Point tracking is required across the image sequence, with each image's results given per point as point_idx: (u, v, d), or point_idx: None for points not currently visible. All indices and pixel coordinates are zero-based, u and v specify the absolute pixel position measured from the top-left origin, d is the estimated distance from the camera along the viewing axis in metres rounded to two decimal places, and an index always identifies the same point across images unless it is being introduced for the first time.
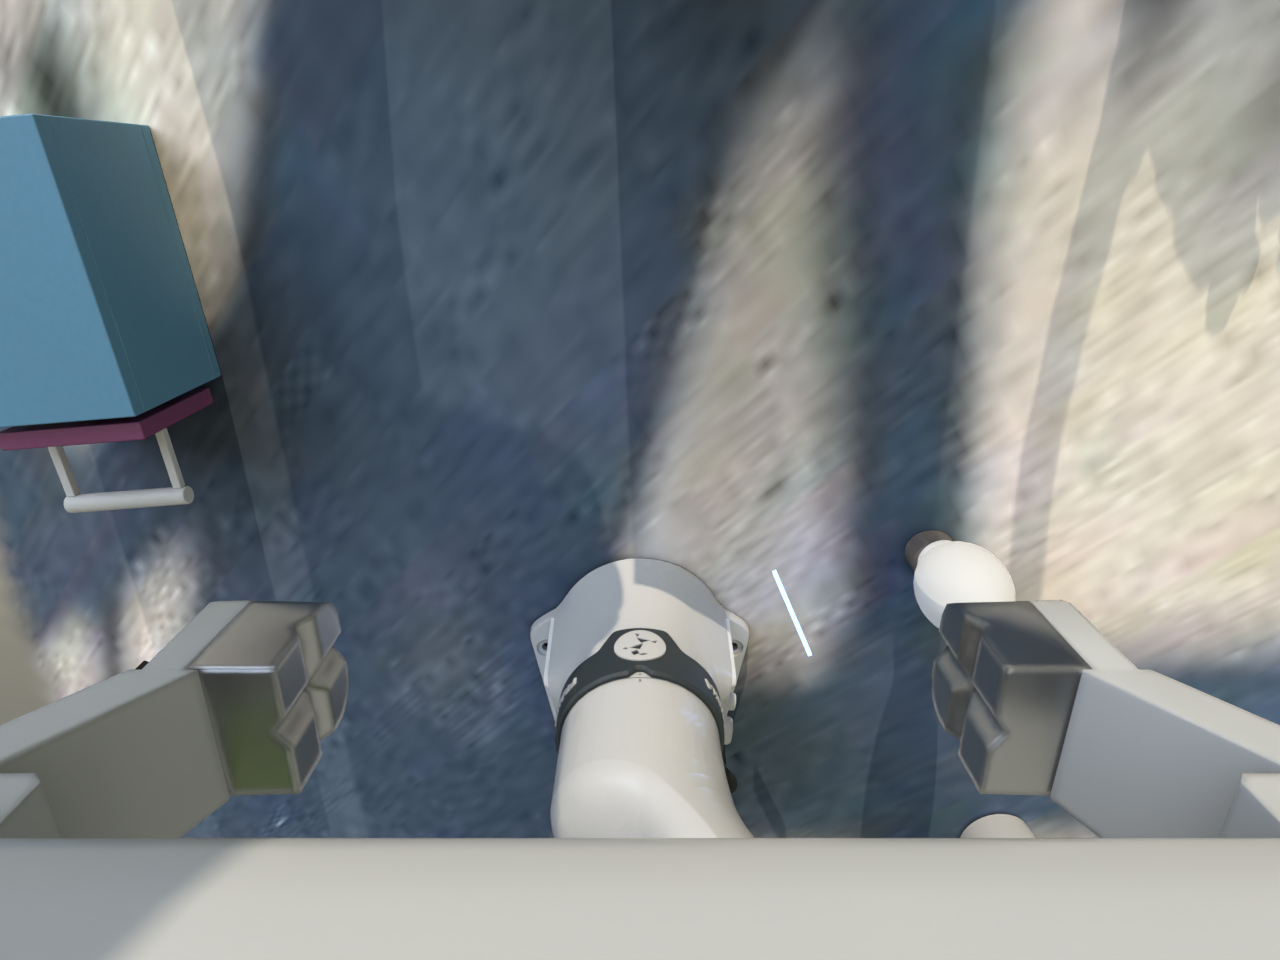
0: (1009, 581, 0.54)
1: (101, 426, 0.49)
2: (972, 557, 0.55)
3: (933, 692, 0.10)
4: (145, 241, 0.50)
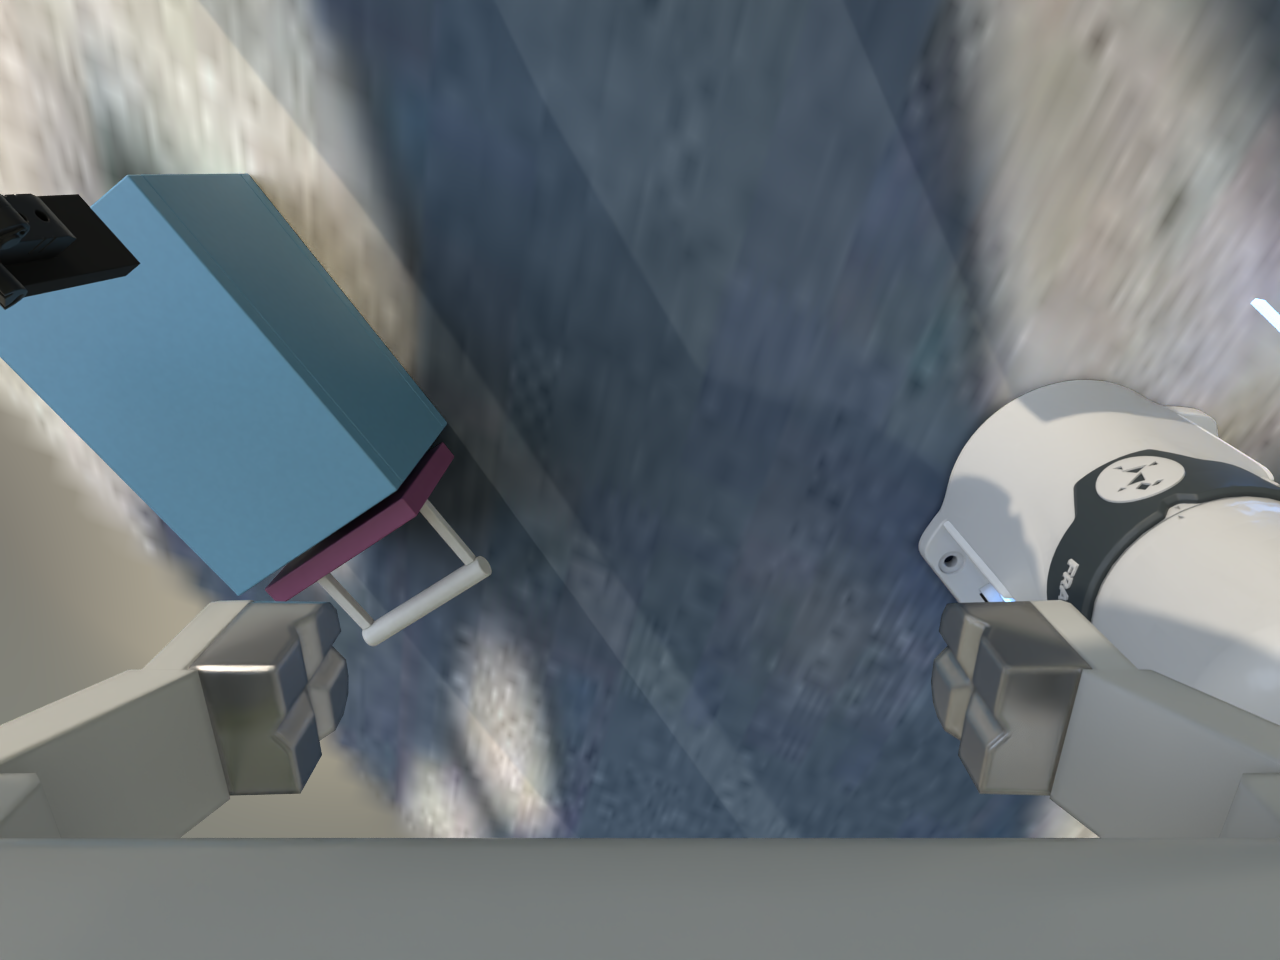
0: None
1: (365, 524, 0.39)
2: None
3: (933, 692, 0.10)
4: (307, 295, 0.40)
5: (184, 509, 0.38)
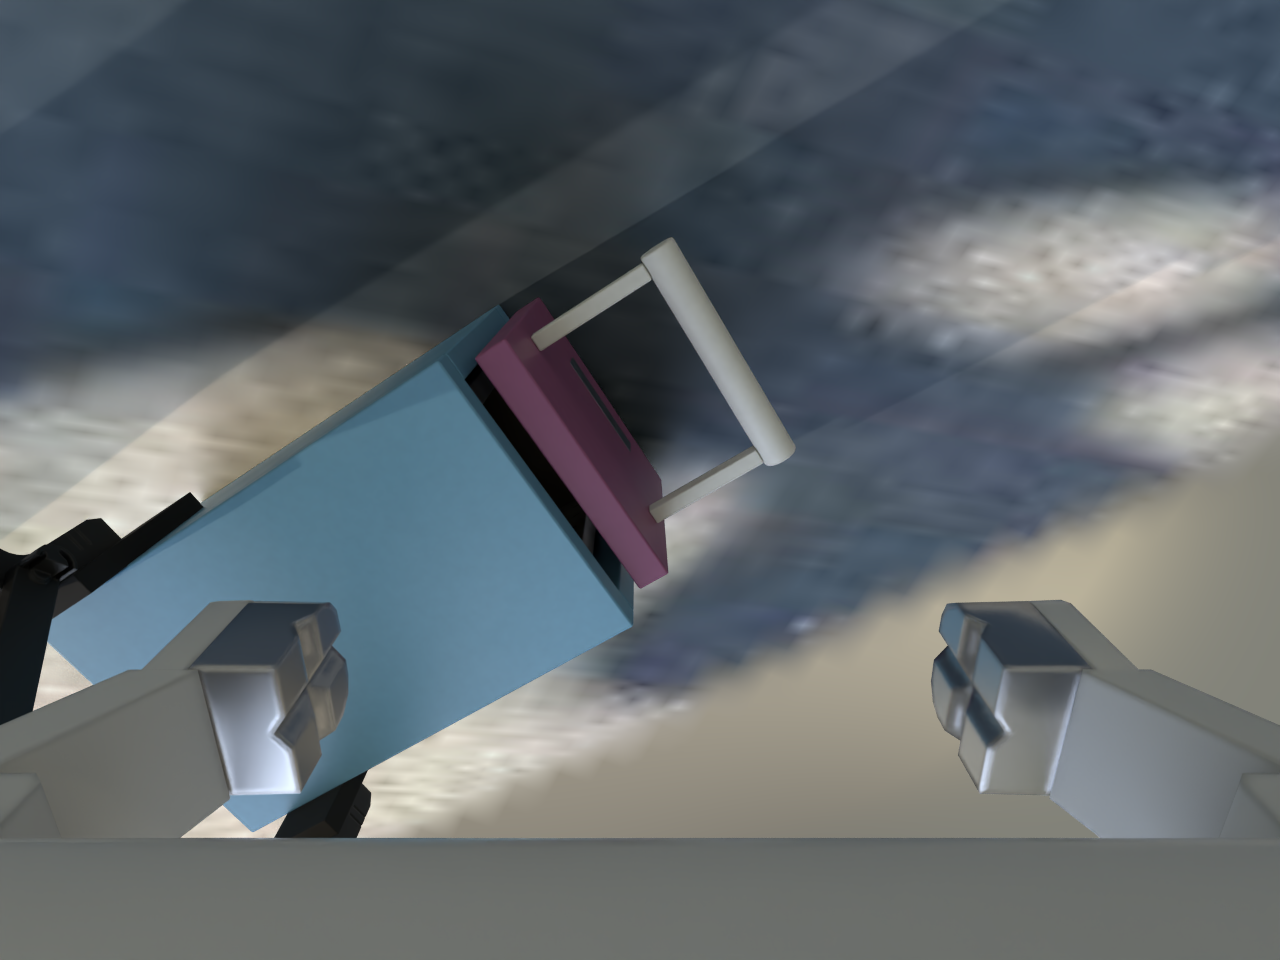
0: None
1: (523, 423, 0.24)
2: None
3: (933, 692, 0.10)
4: (275, 457, 0.30)
5: (489, 664, 0.26)
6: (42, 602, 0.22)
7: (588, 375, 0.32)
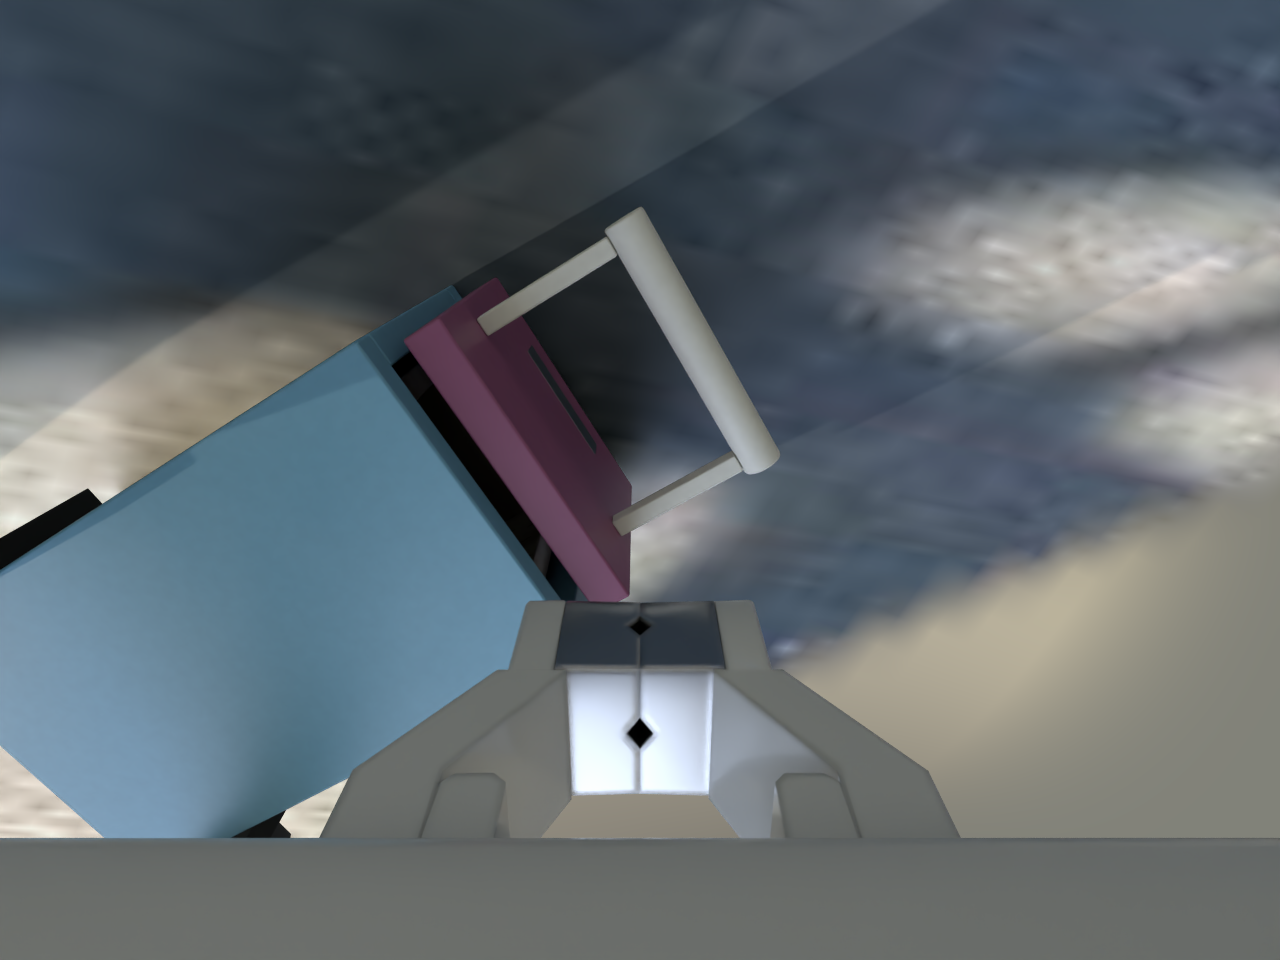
0: None
1: (460, 418, 0.21)
2: None
3: None
4: None
5: (420, 696, 0.23)
6: None
7: (550, 366, 0.28)
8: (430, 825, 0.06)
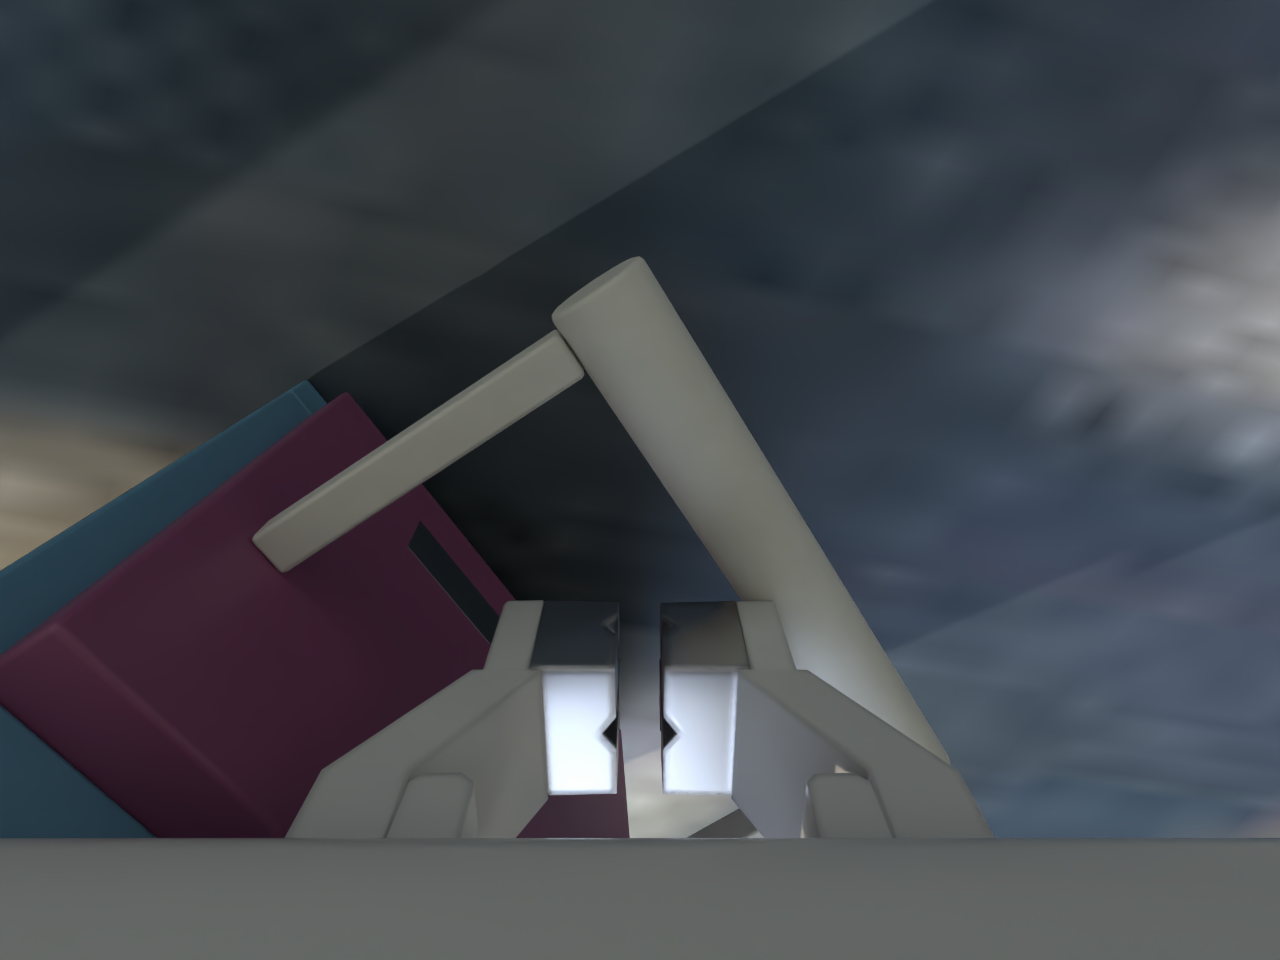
0: None
1: None
2: None
3: None
4: None
5: None
6: None
7: (461, 551, 0.15)
8: (396, 825, 0.06)
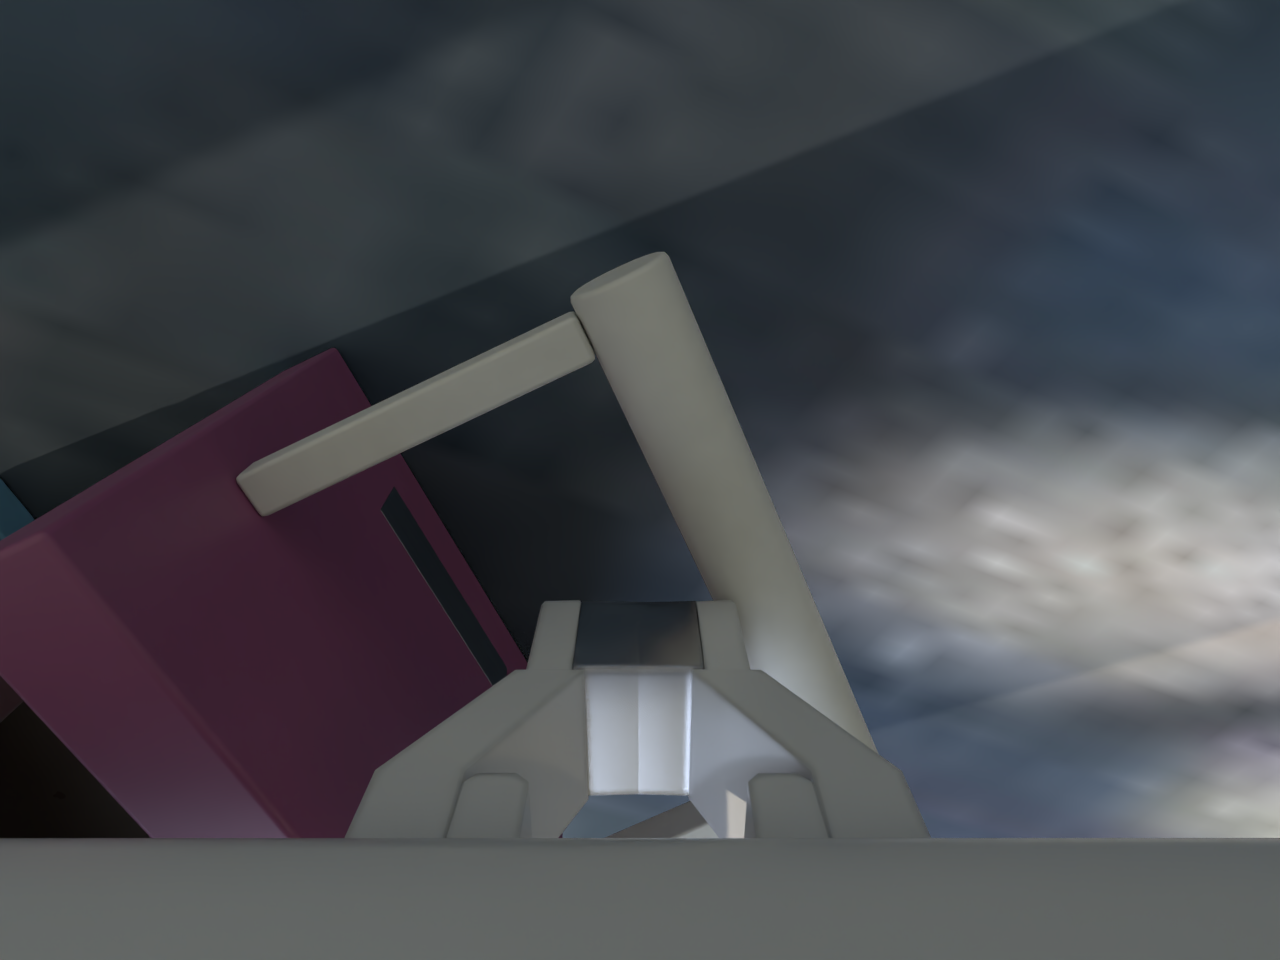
0: None
1: (121, 799, 0.07)
2: None
3: None
4: None
5: None
6: None
7: (430, 522, 0.15)
8: (455, 825, 0.06)
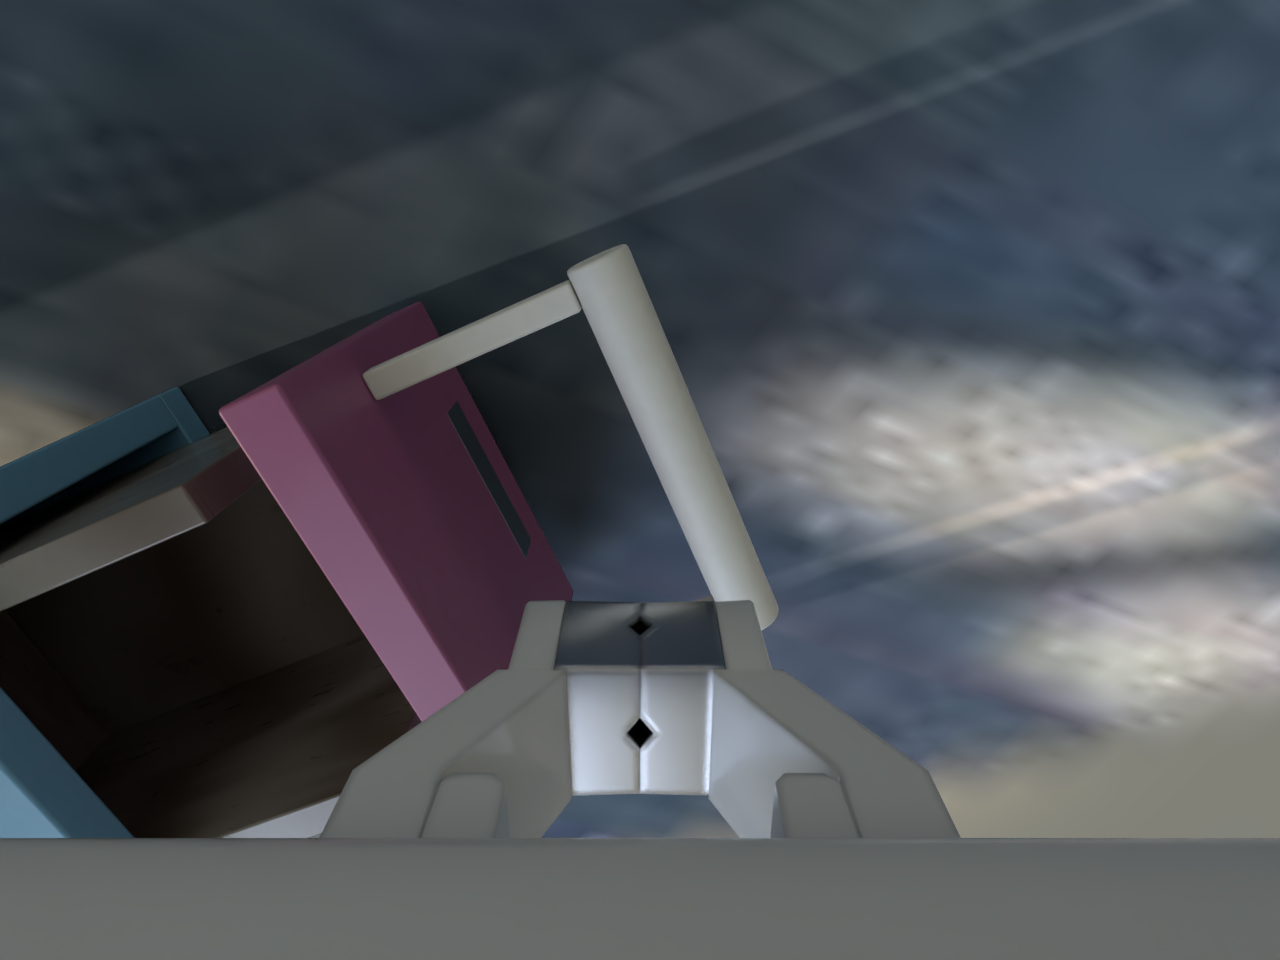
0: None
1: (304, 537, 0.13)
2: None
3: None
4: None
5: None
6: None
7: (481, 430, 0.21)
8: (430, 825, 0.06)
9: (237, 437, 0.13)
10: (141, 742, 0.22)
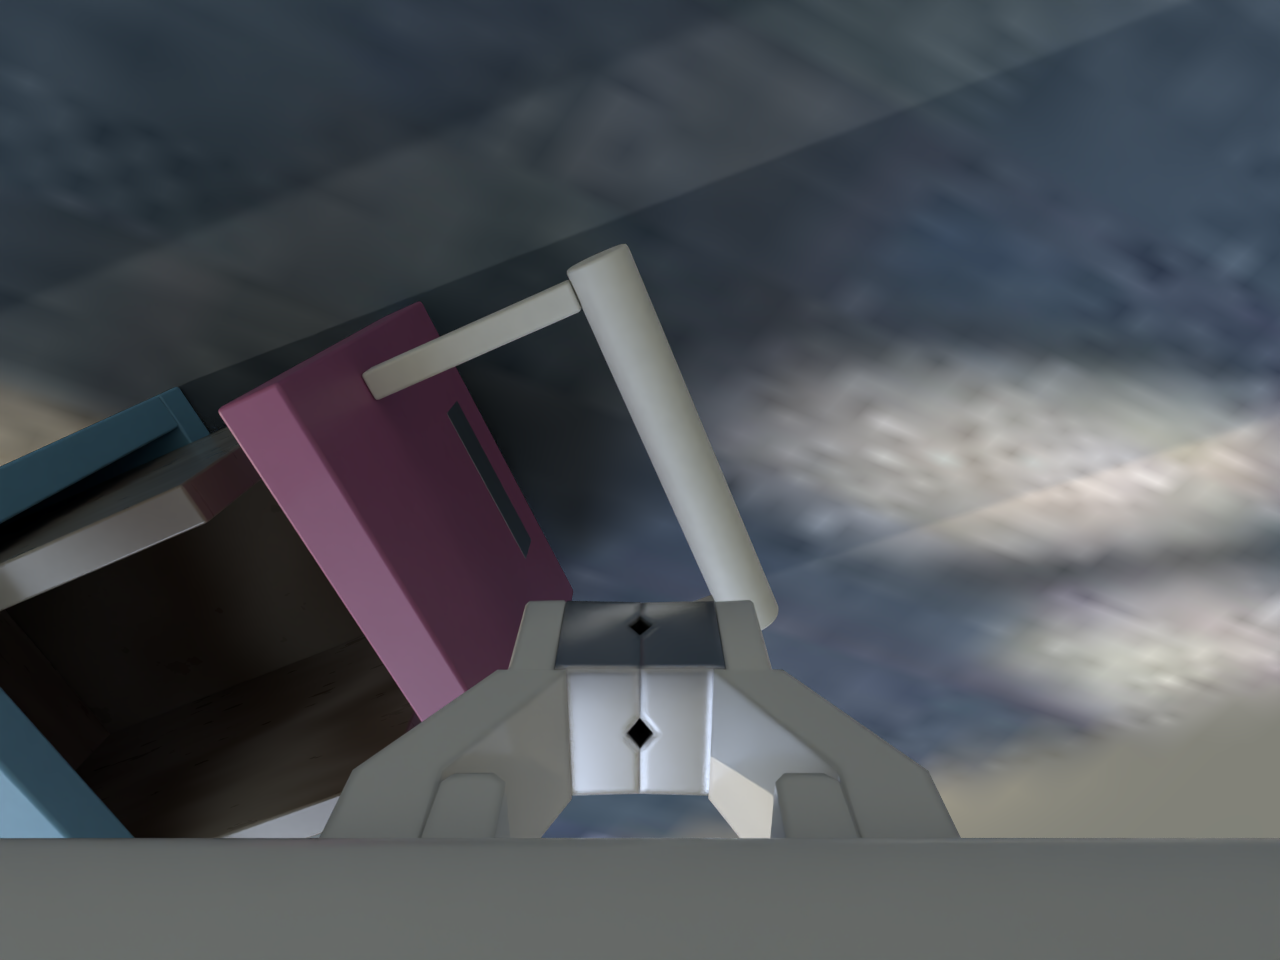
0: None
1: (303, 537, 0.13)
2: None
3: None
4: None
5: None
6: None
7: (481, 430, 0.21)
8: (430, 825, 0.06)
9: (237, 437, 0.13)
10: (140, 742, 0.22)
